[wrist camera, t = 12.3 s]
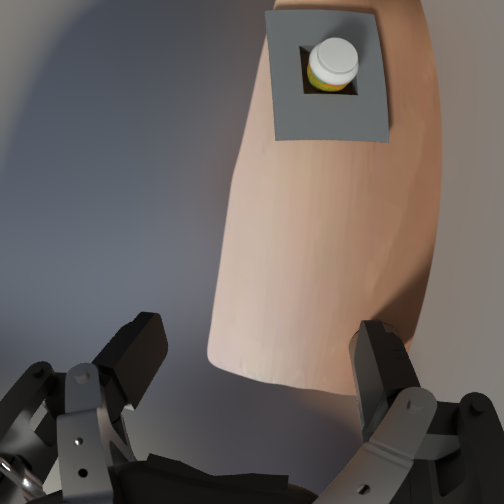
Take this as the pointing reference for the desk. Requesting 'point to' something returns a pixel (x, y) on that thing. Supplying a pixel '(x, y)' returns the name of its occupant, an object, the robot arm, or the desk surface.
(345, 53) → the supplement bottle
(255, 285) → the desk surface
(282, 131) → the socket holder
